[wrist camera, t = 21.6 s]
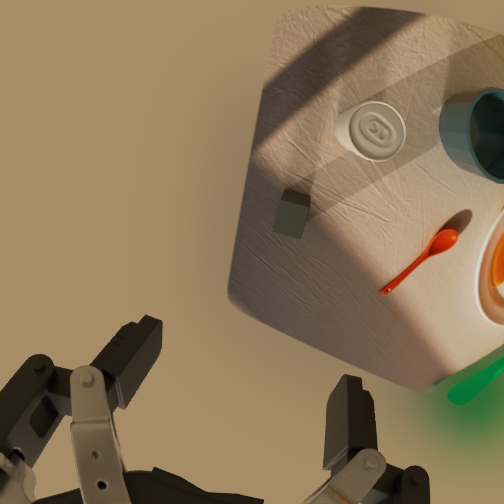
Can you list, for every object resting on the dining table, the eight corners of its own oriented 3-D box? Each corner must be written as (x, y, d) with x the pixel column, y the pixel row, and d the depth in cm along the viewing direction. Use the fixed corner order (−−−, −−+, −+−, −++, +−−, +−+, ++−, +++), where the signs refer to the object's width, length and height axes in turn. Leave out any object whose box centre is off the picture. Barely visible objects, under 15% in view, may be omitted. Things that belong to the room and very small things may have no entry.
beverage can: (349, 100, 28) (368, 85, 17) (384, 126, 28) (420, 126, 18) (325, 133, 30) (333, 136, 20) (360, 159, 31) (385, 176, 20)
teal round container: (425, 105, 26) (450, 102, 20) (484, 83, 23) (514, 78, 16) (455, 183, 29) (482, 197, 23) (510, 157, 25) (541, 166, 19)
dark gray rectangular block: (278, 217, 35) (272, 231, 31) (285, 189, 34) (280, 199, 29) (302, 224, 35) (300, 239, 31) (310, 196, 34) (309, 207, 29)
